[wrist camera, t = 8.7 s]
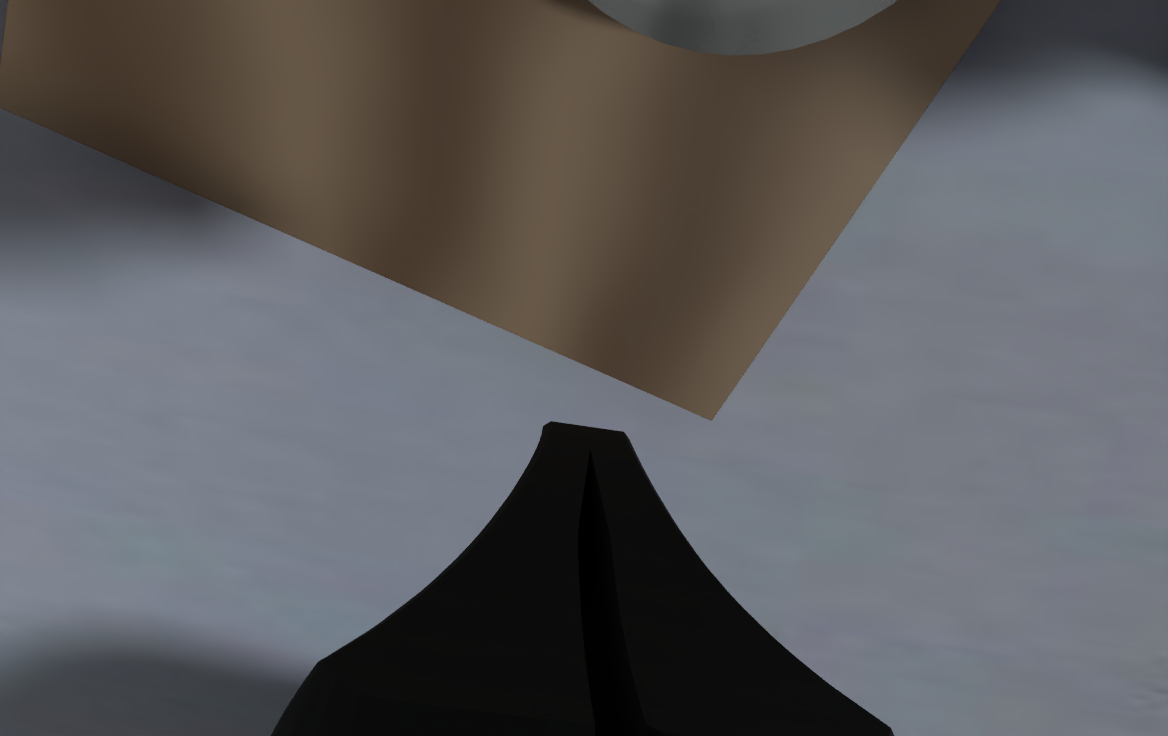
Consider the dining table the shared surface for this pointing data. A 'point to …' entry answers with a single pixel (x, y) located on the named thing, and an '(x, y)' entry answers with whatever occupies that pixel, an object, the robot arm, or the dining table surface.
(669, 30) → the dial
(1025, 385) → the dining table surface
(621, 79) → the dial board
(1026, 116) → the dining table surface
